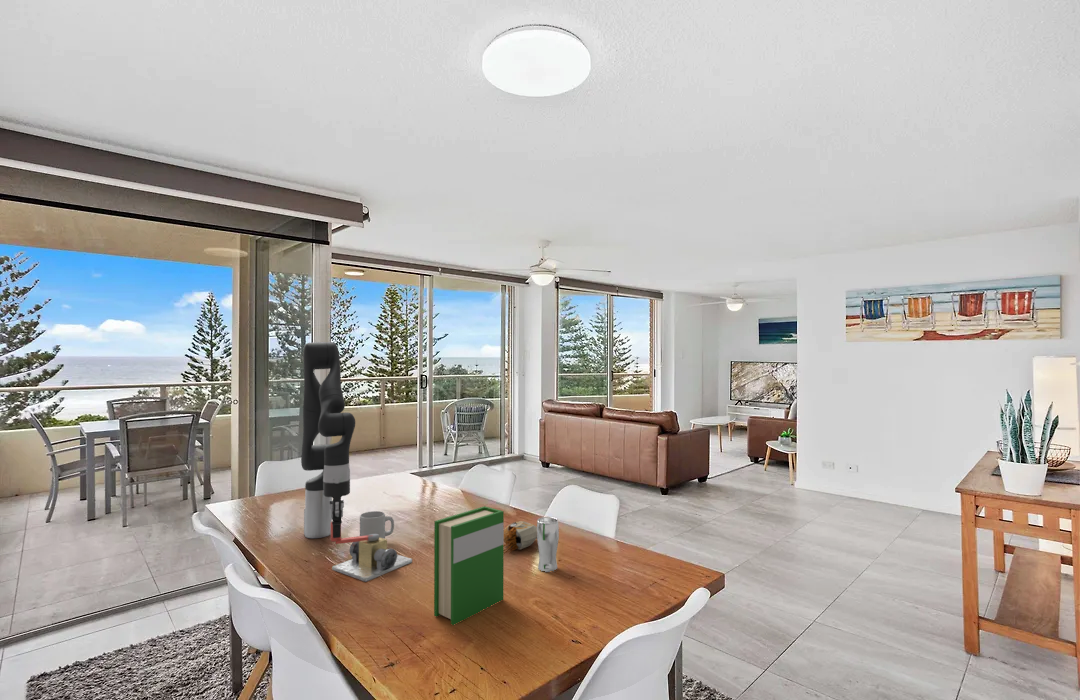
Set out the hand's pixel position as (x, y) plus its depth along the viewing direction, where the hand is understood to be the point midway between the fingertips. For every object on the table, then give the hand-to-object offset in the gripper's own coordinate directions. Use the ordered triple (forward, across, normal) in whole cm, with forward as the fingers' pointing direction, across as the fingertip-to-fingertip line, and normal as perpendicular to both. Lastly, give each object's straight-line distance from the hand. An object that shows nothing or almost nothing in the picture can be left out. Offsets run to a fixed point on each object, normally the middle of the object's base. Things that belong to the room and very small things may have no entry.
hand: (336, 537), depth 158 cm
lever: (+3, -4, +5) cm, 8 cm away
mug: (+11, -23, +14) cm, 29 cm away
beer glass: (+13, +18, +61) cm, 65 cm away
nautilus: (+12, -3, +57) cm, 59 cm away
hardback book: (+13, +34, +32) cm, 49 cm away
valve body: (+12, -4, +11) cm, 16 cm away
